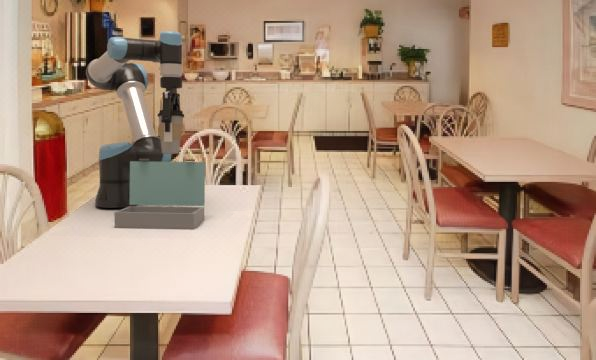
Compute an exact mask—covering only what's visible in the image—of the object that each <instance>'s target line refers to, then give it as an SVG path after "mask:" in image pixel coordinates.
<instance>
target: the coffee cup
mask: <svg viewBox="0 0 596 360" xmlns="http://www.w3.org/2000/svg"><path fill="white" fill-rule="evenodd" d="M183 113H184V112H183V110H181V109H180V110H172V119H171V123H172V142H164V123H162V122H161V120H162V109H160V110H159V112H158V113H157V117H158V121H159V122H158V123H159V124H158V128H159V138H160V140H161V149H162V153H164V154H171V155H176V154H177V155H179V154H180V146H181V140H182V134H183V133H182V132H183V119H184V118H185V114H183Z"/></svg>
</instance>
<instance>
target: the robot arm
mask: <svg viewBox="0 0 596 360" xmlns="http://www.w3.org/2000/svg"><path fill="white" fill-rule="evenodd" d="M106 49H107V50H106V51H105V52H104V53H103V54H102V55H101V56H100V57H99V58H95V59H93V60H91V61H90V62H89V63H88V64H87V66H86V69H85V76H86V78H87V80H88V81H89V83H90V84H91V85H92V86H93V87H95V88H97V89H99V90H103V91H109V92H110V91H112V92H116V95H117V97H118V98H119V99H121V100H122V102H123V103H122V104H123V107H124V111H125V114H126V117H127V121H128V124H129V128H130V132H131V136H132V139H133V143H132V142H131V141H123V142H114V143H108V144H104V145H103V144H102V146H100V148H99V151H98V153H99V154H98V166H99V169H98V171H99V187H98V190H97V193H96V196H95V200H94V203H95V204H94V205H95V207H96V208H114V209H115V208H127V207H129V206H136V205H130V161H139V159H149V161H144V162H172V161H171V160H172V154H164V153H162V149H161V140H160V136H156V133H155V130H154V125H153V123H152V118H151V116H150V113H149V109H148V106H147V102H146V99H145V96H144V94H145V92H146V90H147V89H148V85H149V80H148V73H147V70H146V68H145V67H144V66H143V65H142V64H141V63H135V62H129V61H141V62H152V63H159V64H160V66H159V67H158V70H159V71H160V76H161V77H160V78H159V79H160V80H159V81H160V83H159V84H160V87H159V88H161V89H165V91H163V92H162V109H161V110H162V120H161V122H162V123H164V142H172V123H171V119H172V110H180V111H181V103H180V99H181V96H180V93H178V89H182V88H183V78H182V77H183V41H182V34H181V32H179V31H170V30H169V31H161V32H160V33H159V38H158V40H156V39H143V38H142V39H141V38H133V37H123V36H115V37H114V36H112V37H110V38H109V39H108V42H107V45H106Z"/></svg>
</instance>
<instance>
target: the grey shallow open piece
mask: <svg viewBox="0 0 596 360" xmlns="http://www.w3.org/2000/svg"><path fill="white" fill-rule="evenodd" d="M203 221H205V206H155V205H135V206H129V207H123V208H122V209H120V210H118V211H115V212H114V228H115V229H118V228H119V229H158V230H159V229H163V230H165V229H167V230H195V229H196V228H198V227H199V226H201V224H202V223H203Z"/></svg>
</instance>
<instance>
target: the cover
mask: <svg viewBox="0 0 596 360" xmlns="http://www.w3.org/2000/svg"><path fill="white" fill-rule="evenodd" d="M144 161H149V159H139V161H130V205H135V206H175V207H205V195H206V194H205V193H206V192H205V191H206V190H205V186H206V185H205V184H206V183H205V182H206V178H205V177H206V162H204V161H195V159H193V158H191V159H190V158H189V159H188V158H187V159H186V158H184V161H171V162H144Z"/></svg>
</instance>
